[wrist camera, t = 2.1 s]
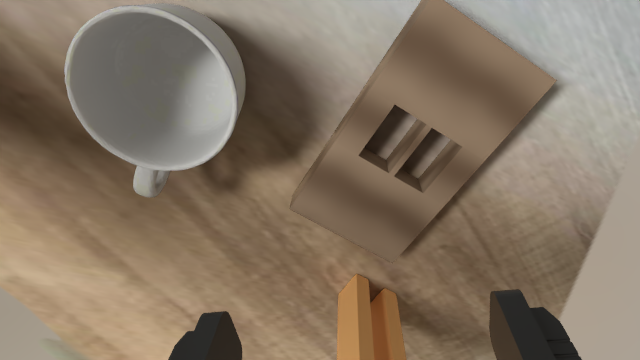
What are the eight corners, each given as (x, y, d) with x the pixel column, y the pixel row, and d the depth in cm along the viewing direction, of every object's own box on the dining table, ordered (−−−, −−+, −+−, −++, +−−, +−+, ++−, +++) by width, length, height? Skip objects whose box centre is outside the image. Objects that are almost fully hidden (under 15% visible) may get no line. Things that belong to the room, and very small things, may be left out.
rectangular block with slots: (389, 247, 39) (392, 263, 37) (292, 194, 37) (289, 209, 35) (541, 72, 31) (556, 80, 29) (427, -9, 29) (433, -7, 26)
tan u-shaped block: (377, 313, 44) (389, 449, 31) (338, 294, 43) (335, 427, 30) (395, 293, 42) (417, 428, 30) (356, 273, 41) (361, 404, 29)
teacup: (147, -32, 29) (83, -32, 22) (281, 43, 31) (262, 65, 24) (102, 126, 35) (41, 165, 28) (216, 180, 37) (186, 230, 30)
